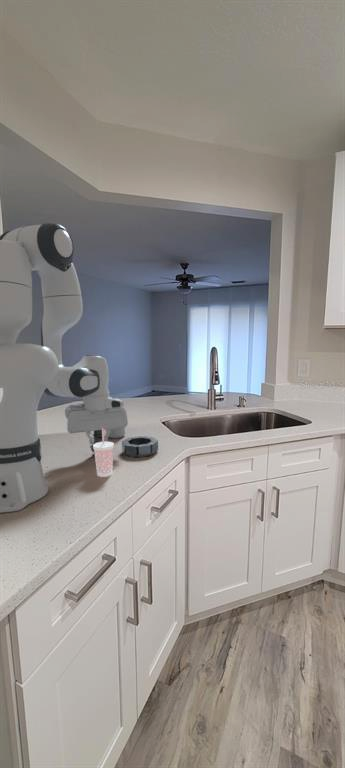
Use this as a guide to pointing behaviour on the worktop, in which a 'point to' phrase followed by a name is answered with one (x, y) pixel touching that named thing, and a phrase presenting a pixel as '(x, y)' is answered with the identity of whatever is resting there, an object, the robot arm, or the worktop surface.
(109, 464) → the beverage cup
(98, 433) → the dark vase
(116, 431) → the can
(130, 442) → the metal ring collar
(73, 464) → the worktop surface
